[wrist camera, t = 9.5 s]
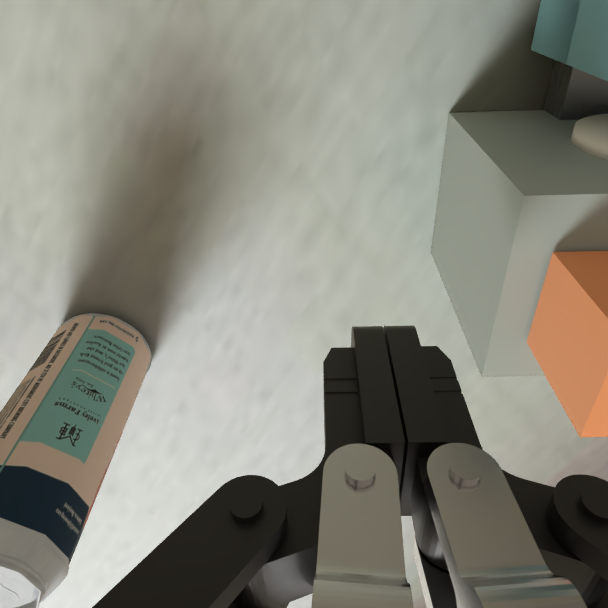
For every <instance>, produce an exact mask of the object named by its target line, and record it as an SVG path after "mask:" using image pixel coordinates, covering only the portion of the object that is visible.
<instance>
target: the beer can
mask: <svg viewBox="0 0 608 608" xmlns="http://www.w3.org/2000/svg"><path fill="white" fill-rule="evenodd" d="M151 361H152V358H151V351H150V348H149V345H148V343H147V342H146V340H145V339H144V337H143V336H142V335H141V334H140V333H139V331H137V330H136V329H135V328H134V327H133V326H131V325H129V324H127V323H125V322H124V321H122V320H120V319H118V318H115V317H113V316H109V315H105V314H98V313H88V314H82V315H77V316H74V317H72V318H70V319H69V320H67V321H66V322H64V323H63V324H62V325H61V326H60V327H59V328H58V330H57V331H56V333H55V334H54V336H53V337H52V338H51V340H50V341H49V343H48V344H47V346H46V347H45V349H44V350H43V351H42V353H41V354H40V356H39V357H38V359H37V360H36V362H35V363H34V364H33V366H32V367H31V369H30V370H29V372H28V373H27V375H26V376H25V378H24V379H23V380H22V382H21V383H20V385H19V386H18V388H17V389H16V391H15V392H14V393H13V395H12V396H11V398H10V399H9V401H8V402H7V404H6V405H5V406H4V408H3V409H2V411H1V412H0V608H38V607H39V604H40V602H42V601H43V600H44V599H45V598H46V597H47V596H48V595H49V594H51V593H52V592H53V591H54V590H55V589H56V588H57V587H58V586H59V585H60V584H61V582H62V581H63V580H64V579H65V577H66V576H67V573H68V569H69V564H70V561H71V559H72V556H73V554H74V551H75V549H76V546H77V544H78V541H79V539H80V536H81V534H82V531H83V529H84V526H85V524H86V521H87V519H88V516H89V514H90V511H91V509H92V507H93V504H94V502H95V499H96V497H97V494H98V492H99V489H100V487H101V484H102V482H103V479H104V477H105V474H106V472H107V469H108V467H109V464H110V462H111V459H112V457H113V454H114V452H115V449H116V447H117V444H118V442H119V440H120V437H121V435H122V432H123V430H124V427H125V425H126V422H127V420H128V417H129V415H130V412H131V410H132V407H133V405H134V402H135V400H136V397H137V395H138V392H139V390H140V387H141V385H142V382H143V380H144V377H145V375H146V373H147V372H148V370H149V368H150V365H151Z"/></svg>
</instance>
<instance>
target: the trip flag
mask: <svg viewBox="0 0 608 608" xmlns="http://www.w3.org/2000/svg"><path fill="white" fill-rule="evenodd" d="M527 344H528V346H529V347H530V349H531V351H532V353H533V355H534V356H535V358H536V360H537V362H538V363H539V365H540V367H541V369H542V371H543V372H544V374H545V376H546V378H547V379H548V381H549V383H550V385H551V387H552V388H553V390H554V392H555V394H556V395H557V397H558V399H559V401H560V403H561V404H562V406H563V408H564V410H565V411H566V413H567V415H568V417H569V419H570V420H571V422H572V424H573V426H574V427H575V429H576V431H577V433H578V435H579V436H580V437H608V251H575V252H553V253H552V256H551V259H550V263H549V266H548V270H547V273H546V277H545V280H544V284H543V287H542V290H541V294H540V297H539V301H538V304H537V308H536V311H535V315H534V318H533V321H532V325H531V328H530V332H529V335H528V339H527Z"/></svg>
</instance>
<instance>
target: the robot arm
mask: <svg viewBox="0 0 608 608" xmlns="http://www.w3.org/2000/svg"><path fill="white" fill-rule="evenodd" d="M323 363H324V429H325V454H324V457H323V459H322V461H321V463H320V464H319V466H318V467H317V468H316V469H315V470H314V471H313V472H312V473H310V474H309V475H307V476H306V477H304V478H302V479H299V480H297V481H294V482H291V483H287V484H284V485H281V486H278V485H277V484H275V483H274V482H273V481H271V480H270V479H268V478H265V477H262V476H257V475H246V476H241V477H237V478H235V479H232V480H230V481H228V482H227V483H225V484H224V485H223V486H221V487H220V488H219V489H218V490H217V491H216V492H215V493H214V494H213V495H212V496H211V497H210V498H208V499H207V500H206V501H205V502H204V503H203V504H202V505H201V506H200V507H199V508H198V509H197V510H196V511H195V512H194V513H192V514H191V515H190V516H189V517H188V518H187V519H186V520H185V521H184V522H183V523H182V524H181V525H180V526H179V527H178V528H177V529H175V530H174V531H173V532H172V533H171V534H170V535H169V536H168V537H167V538H166V539H165V540H164V541H163V542H162V543H161V544H159V545H158V546H157V547H156V548H155V549H154V550H153V551H152V552H151V553H150V554H149V555H148V556H147V557H146V558H145V559H143V560H142V561H141V562H140V563H139V564H138V565H137V566H136V567H135V568H134V569H133V570H132V571H131V572H130V573H129V574H128V575H126V576H125V577H124V578H123V579H122V580H121V581H120V582H119V583H118V584H117V585H116V586H115V587H114V588H113V589H112V590H110V591H109V592H108V593H107V594H106V595H105V596H104V597H103V598H102V599H101V600H100V601H99V602H98V603H97V604H96V605H94V606H93V607H92V608H286V607H287V606H288V604H289V602H291V601H293V600H296V599H298V598H301V597H304V596H306V595H309V594H312V593H313V595H312V608H413V600H412V593H411V588H410V584H409V583H407V580H406V574H405V562H404V550H403V537H402V524H401V516H412V519H413V525H414V530H415V536H414V542H413V553H414V558H415V562H416V566H417V570H418V574H419V578H420V582H421V586H422V590H423V594H424V598H425V602H426V606H427V608H608V482H607V481H605V480H603V479H600V478H597V477H594V476H589V475H571V476H568V477H565V478H563V479H562V480H561V481H559V482H558V484H557V485H556V487H551V486H547V485H543V484H540V483H536V482H532V481H529V480H525V479H522V478H519V477H516V476H514V475H511V474H509V473H507V472H506V471H504V470H502V469H501V468H500V466H499V464H498V463H497V462H496V461H495V459H494V458H492V457H491V456H490V455H489V454H488V453H486V452H485V451H483V449H482V447H481V445H480V442H479V439H478V436H477V434H476V431H475V428H474V425H473V422H472V419H471V417H470V414H469V411H468V408H467V405H466V402H465V399H464V397H463V394H461V388H460V385H459V382H458V380H457V377H456V374H455V371H454V368H453V365H452V362H451V360H450V359H449V358H448V357H447V356H446V355H445V354H444V353H443V352H442V351H441V350H440V349H439V348H438V347H437V346H421V345H420V342H419V338H418V335H417V331H416V328H415V326H384V327H382V326H373V327H352V338H351V348H331V350H330V352H329V353H328V355H327V357H326V359H325V360H324V362H323Z"/></svg>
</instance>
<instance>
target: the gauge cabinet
mask: <svg viewBox="0 0 608 608" xmlns="http://www.w3.org/2000/svg"><path fill="white" fill-rule="evenodd" d="M575 251H608V114H599V115H593V116H588V117H585V118H582V119H580V120H558V119H557V118H555V117H554V116H552V115H551V114H549V113H547V112H546V111H544V110H520V111H489V112H458V113H449V118H448V125H447V133H446V141H445V149H444V156H443V164H442V172H441V180H440V187H439V195H438V203H437V210H436V218H435V226H434V234H433V241H432V249H431V254H432V256H433V259H434V261H435V264H436V266H437V268H438V271H439V273H440V276H441V278H442V281H443V283H444V286H445V288H446V290H447V293H448V295H449V298H450V300H451V303H452V305H453V308H454V310H455V313H456V315H457V317H458V320H459V322H460V325H461V327H462V330H463V332H464V335H465V337H466V339H467V342H468V344H469V347H470V349H471V352H472V354H473V357H474V359H475V362H476V364H477V366H478V369H479V371H480V374H481V376H482V377H496V376H545V374H544V372H543V371H542V369H541V367H540V365H539V363H538V362H537V360H536V358H535V356H534V355H533V353H532V351H531V349H530V347H529V346H528V344H527V339H528V335H529V332H530V328H531V325H532V321H533V318H534V315H535V311H536V308H537V304H538V301H539V297H540V294H541V290H542V287H543V284H544V280H545V277H546V273H547V270H548V266H549V263H550V259H551V256H552V253H553V252H575Z"/></svg>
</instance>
